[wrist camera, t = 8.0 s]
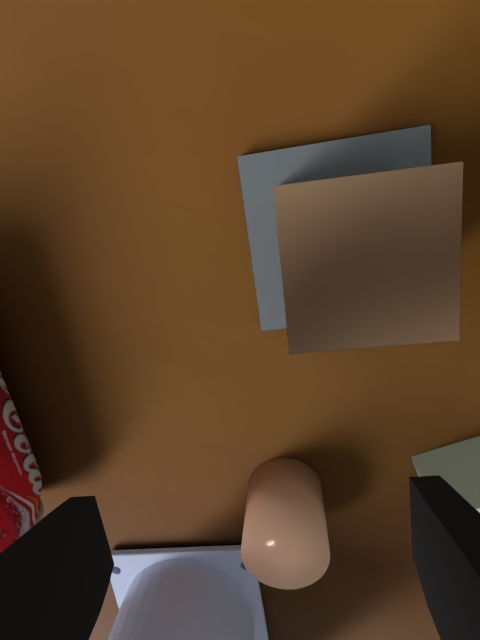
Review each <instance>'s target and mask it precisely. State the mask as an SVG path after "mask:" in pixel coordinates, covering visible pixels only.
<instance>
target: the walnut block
mask: <svg viewBox="0 0 480 640" xmlns="http://www.w3.org/2000/svg"><path fill="white" fill-rule="evenodd" d="M273 192H274V202H275V213H276V223H277V233H278V243H279V254H280V264H281V274H282V284H283V295H284V305H285V315H286V325H287V336H288V346H289V354H295V353H308V352H320V351H333V350H345V349H358V348H371V347H383V346H396V345H408V344H421V343H433V342H446V341H458V340H459V333H460V288H461V243H462V198H463V161H462V162H454V163H447V164H439V165H431V166H424V167H416V168H408V169H401V170H393V171H385V172H377V173H370V174H362V175H354V176H347V177H339V178H331V179H324V180H316V181H308V182H301V183H293V184H285V185H278V186H273Z"/></svg>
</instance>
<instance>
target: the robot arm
mask: <svg viewBox="0 0 480 640" xmlns="http://www.w3.org/2000/svg"><path fill="white" fill-rule="evenodd" d="M409 480H410V504H411V528H412V552H413V557H414V560H415V564H416V567H417V571H418V575H419V578H420V582H421V585H422V588H423V592H424V595H425V599H426V602H427V605H428V608H429V610H430V613H431V615H432V618H433V621H434V623H435V626H436V628H437V631H438V633H439V636H440V638H441V640H480V513H479V512H478V511H477V510H476V509H475V508H474V507H473V506H472V505H471V504H470V503H469V502H468V501H466V500H465V499H464V498H463V497H462V496H461V495H460V494H459V493H458V492H457V491H456V490H455V489H454V488H453V487H452V486H451V485H450V484H449V483H447V482H446V481H445V480H444V479H443V478H442V477H441V476H439V475H435V476H419V477H409ZM117 567H118V568H117ZM110 580H111V583H112V587H113V590H114V594H115V597H116V600H117V604H118V607H119V612H118V615H117V617H116V620H115V622H114V625H113V628H112V630H111V633H110V635H109V638H108V640H269V638H268V632H267V626H266V620H265V614H264V608H263V602H262V596H261V591H260V585H259V581H258V580H257V579H255V578H254V577H253V576H252V575H251V574H250V573H249V572H248V571H247V569H246V568H245V566H244V564H243V561H242V558H241V545H228V546H204V547H180V548H156V549H131V550H113V551H110V547H109V544H108V540H107V537H106V534H105V530H104V527H103V523H102V520H101V516H100V513H99V509H98V506H97V502H96V499H95V496H84V497H71V498H69V499H68V500H66V501H65V502H64V503H62V504H61V505H60V506H58V507H57V508H56V509H54V510H53V511H52V512H51V513H49V514H48V515H47V516H46V517H44V518H43V519H42V520H41V521H39V522H38V523H37V524H36V525H34V526H33V527H32V528H31V529H29V530H28V531H27V532H26V533H25V534H23V535H22V536H21V537H20V538H18V539H17V540H16V541H15V542H14V543H12V544H11V545H10V546H9V547H7V548H6V549H5V550H4V551H2V552H1V553H0V640H89V637H90V635H91V633H92V630H93V628H94V626H95V623H96V621H97V618H98V616H99V613H100V611H101V608H102V604H103V601H104V598H105V595H106V592H107V589H108V585H109V581H110Z"/></svg>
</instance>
